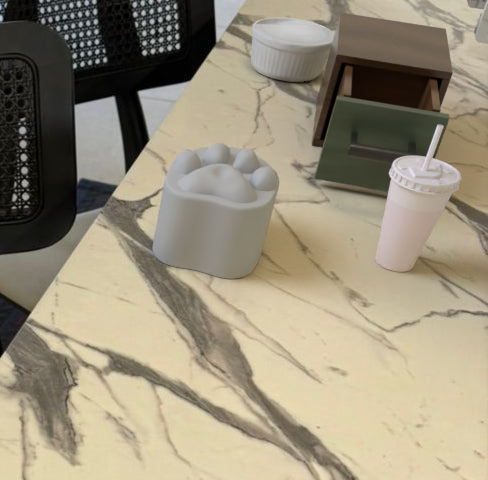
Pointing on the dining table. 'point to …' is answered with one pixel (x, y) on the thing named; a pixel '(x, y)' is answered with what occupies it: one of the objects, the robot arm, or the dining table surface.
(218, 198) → the lumpy-topped squat cylinder
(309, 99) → the dining table surface
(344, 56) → the cabinet
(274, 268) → the dining table surface
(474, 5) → the robot arm
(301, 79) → the ramekin
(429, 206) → the smoothie
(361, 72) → the drawer
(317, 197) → the dining table surface
